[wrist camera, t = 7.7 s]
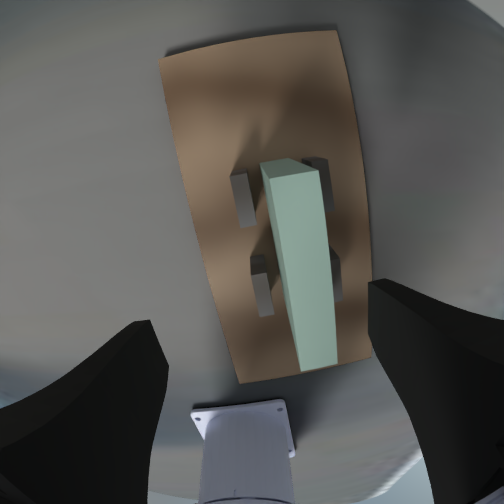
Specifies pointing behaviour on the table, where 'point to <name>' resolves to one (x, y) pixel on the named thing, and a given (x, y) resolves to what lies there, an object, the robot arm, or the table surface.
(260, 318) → the rail
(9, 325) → the table surface
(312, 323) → the door panel
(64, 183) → the table surface
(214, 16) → the table surface
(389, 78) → the table surface
